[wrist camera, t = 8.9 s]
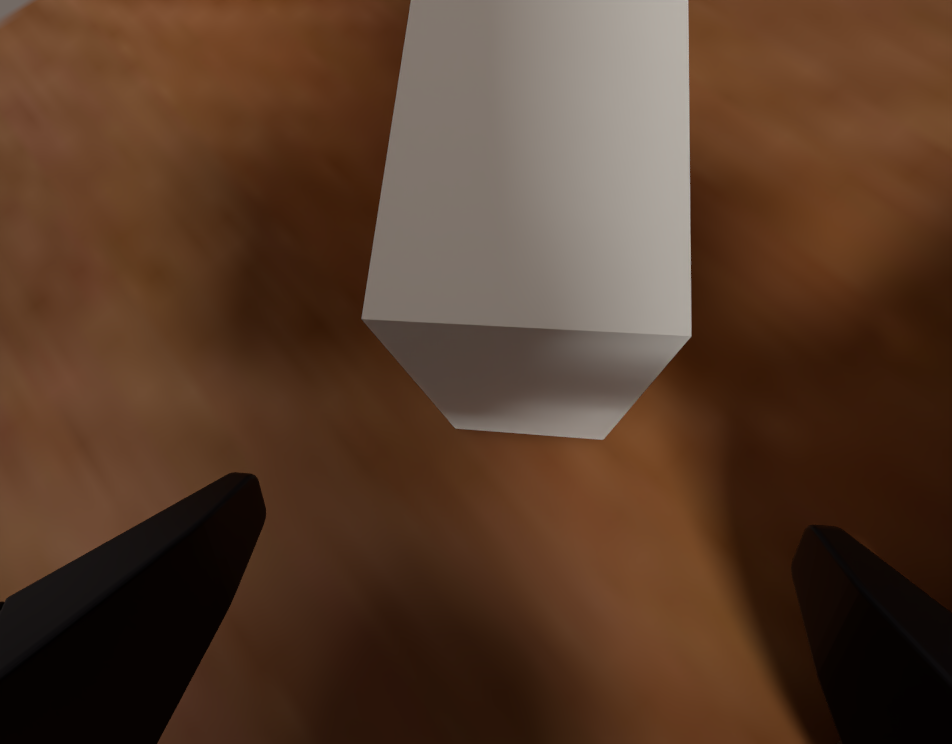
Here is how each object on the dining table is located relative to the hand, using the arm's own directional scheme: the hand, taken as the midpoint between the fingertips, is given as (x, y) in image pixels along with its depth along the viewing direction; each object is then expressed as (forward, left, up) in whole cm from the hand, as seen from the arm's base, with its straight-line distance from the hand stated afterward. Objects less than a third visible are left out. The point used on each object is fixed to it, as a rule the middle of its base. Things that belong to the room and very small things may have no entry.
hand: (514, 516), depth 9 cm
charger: (+7, +3, -7) cm, 11 cm away
